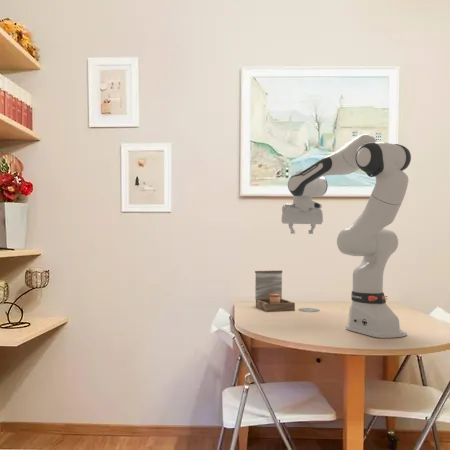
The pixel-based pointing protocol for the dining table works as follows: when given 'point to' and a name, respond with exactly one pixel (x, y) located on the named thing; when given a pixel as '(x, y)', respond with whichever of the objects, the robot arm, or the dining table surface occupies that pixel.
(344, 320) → the dining table surface
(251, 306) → the dining table surface
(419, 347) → the dining table surface
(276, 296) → the orange cylinder
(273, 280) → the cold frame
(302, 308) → the grey flat disc
